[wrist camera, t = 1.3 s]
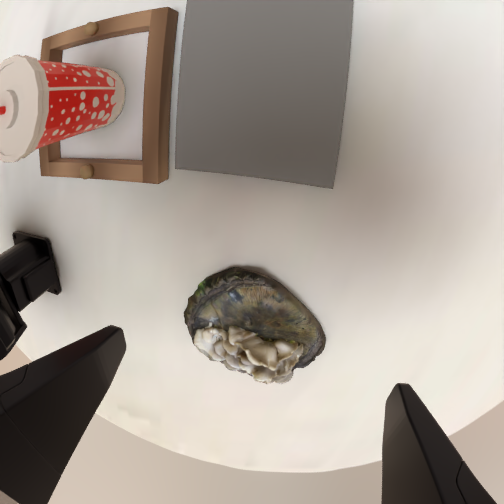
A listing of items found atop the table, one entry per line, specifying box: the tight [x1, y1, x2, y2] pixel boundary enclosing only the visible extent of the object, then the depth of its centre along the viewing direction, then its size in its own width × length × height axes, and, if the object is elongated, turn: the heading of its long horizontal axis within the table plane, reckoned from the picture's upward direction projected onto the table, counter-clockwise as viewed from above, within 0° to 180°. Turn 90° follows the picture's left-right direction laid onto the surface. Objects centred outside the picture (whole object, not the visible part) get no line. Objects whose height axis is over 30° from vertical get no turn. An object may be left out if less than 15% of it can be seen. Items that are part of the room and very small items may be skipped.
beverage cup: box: [0, 55, 125, 162], centre depth 13 cm, size 6×6×14 cm
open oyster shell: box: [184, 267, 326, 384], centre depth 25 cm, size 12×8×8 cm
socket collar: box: [39, 7, 178, 184], centre depth 18 cm, size 12×12×2 cm
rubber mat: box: [175, 0, 353, 189], centre depth 16 cm, size 10×14×1 cm
